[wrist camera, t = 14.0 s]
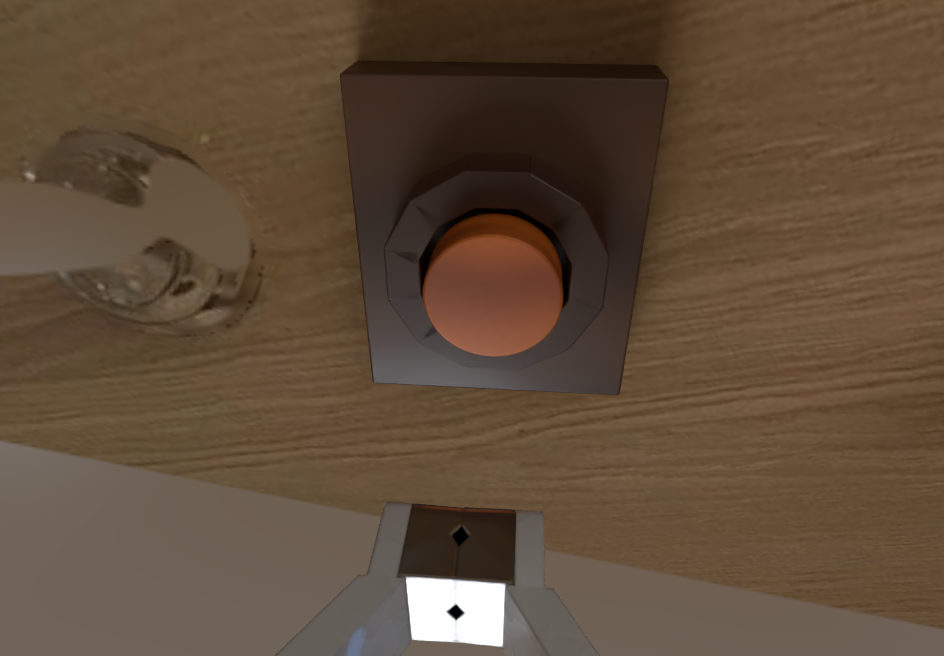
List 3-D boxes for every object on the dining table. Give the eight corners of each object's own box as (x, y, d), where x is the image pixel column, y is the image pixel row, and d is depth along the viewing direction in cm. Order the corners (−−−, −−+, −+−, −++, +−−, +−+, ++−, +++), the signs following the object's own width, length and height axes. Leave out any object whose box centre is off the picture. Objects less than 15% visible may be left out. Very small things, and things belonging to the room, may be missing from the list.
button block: (613, 364, 27) (625, 426, 24) (383, 353, 28) (362, 412, 24) (657, 64, 21) (681, 92, 17) (355, 60, 21) (322, 86, 18)
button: (556, 331, 22) (558, 360, 21) (432, 326, 23) (425, 354, 21) (566, 214, 20) (569, 237, 18) (427, 209, 20) (419, 232, 19)
